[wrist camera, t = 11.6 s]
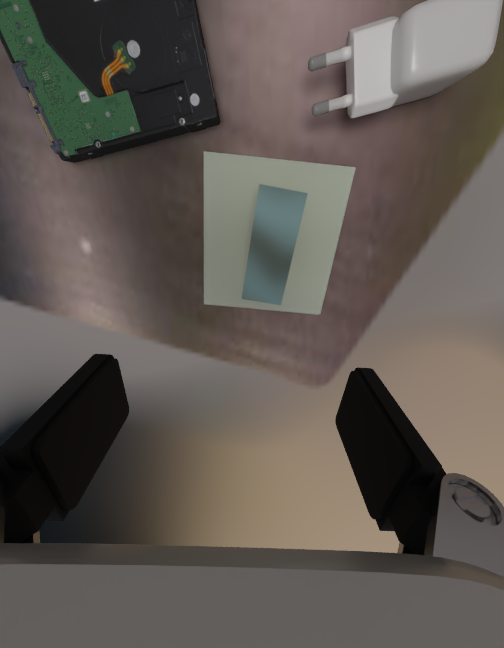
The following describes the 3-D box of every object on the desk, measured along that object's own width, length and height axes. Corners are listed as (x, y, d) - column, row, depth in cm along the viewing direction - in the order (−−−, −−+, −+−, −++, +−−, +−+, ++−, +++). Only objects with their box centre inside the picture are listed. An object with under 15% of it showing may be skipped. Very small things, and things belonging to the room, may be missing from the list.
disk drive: (185, -50, 17) (8, 15, 19) (174, -93, 15) (-30, -14, 16) (223, 126, 22) (77, 167, 23) (219, 116, 19) (55, 162, 21)
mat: (204, 302, 29) (203, 304, 29) (205, 152, 22) (203, 151, 22) (319, 312, 29) (320, 314, 29) (353, 168, 23) (355, 167, 22)
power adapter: (305, 139, 22) (320, 119, 17) (298, 67, 20) (313, 18, 14) (436, 104, 20) (498, 70, 15) (444, 23, 18) (519, -49, 13)
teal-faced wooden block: (258, 186, 23) (259, 183, 19) (299, 194, 23) (307, 193, 20) (243, 286, 27) (241, 299, 24) (277, 291, 28) (280, 305, 24)
